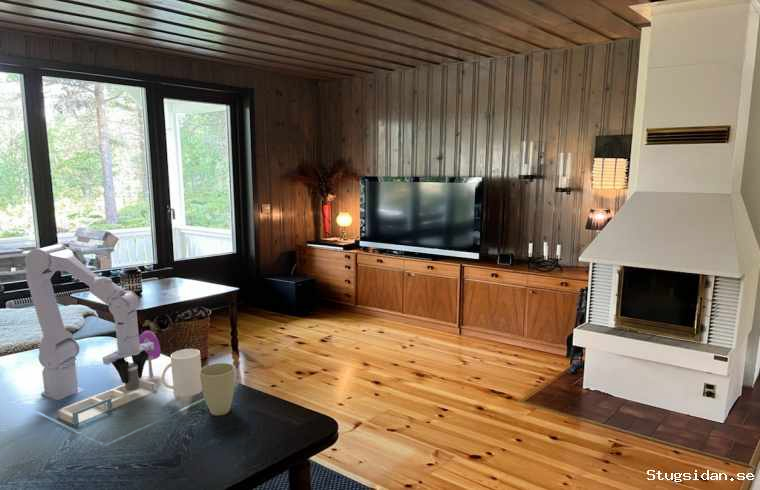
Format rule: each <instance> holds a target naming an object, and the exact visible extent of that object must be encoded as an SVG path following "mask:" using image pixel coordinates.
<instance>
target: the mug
mask: <svg viewBox="0 0 760 490" xmlns="http://www.w3.org/2000/svg"><path fill="white" fill-rule="evenodd" d="M201 359H202V358H201V351H200V350H199V349H196V348H184V349H180V350H176V351H174V352H172V353H171V354H170V362H169V363H168V364H167V365H166V366H165V367H164V369H163V372H162V375H161V380H162V383H163V385H164V386H165V387H166V388H168V389H170V390H172V391H173V395H174V396H175V397H178V398H179V397H180V398H187V397H192V396H196V395H198V394H200V393H201V392H202V393H203V391H202V385H201V379H200V370H201V369H202V360H201ZM169 368H171V373H172V374H171V376H172V385H169V384H167V382H166V381H165V374H166V372H167V370H168V369H169Z"/></svg>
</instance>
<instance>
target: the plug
mask: <svg viewBox="0 0 760 490" xmlns="http://www.w3.org/2000/svg"><path fill="white" fill-rule="evenodd" d="M124 384H125V383H124ZM125 386H126V390H128V391H132V390H136V389H138V388H139V376H138V364H137V363H133V362H129V365H128V383H127V384H125Z"/></svg>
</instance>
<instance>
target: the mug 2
mask: <svg viewBox="0 0 760 490" xmlns="http://www.w3.org/2000/svg"><path fill="white" fill-rule="evenodd" d="M235 371H236V369H235V366H234V364H232V363H228V362H218V363H217V362H215V363H212V364H207V365H206V366H203V367H201V370H200V379H201V385H202V395H203V398H204V401H205V403H206V405H207V407H208V409H209V413H210V414H211V415H213V416H224V415H226V414H228V413H229V412H230V410H231V406H232V402H233V397H234V394H235V393H234V392H235V377H236V376H235V375H236V374H235Z"/></svg>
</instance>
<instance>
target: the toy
mask: <svg viewBox="0 0 760 490" xmlns="http://www.w3.org/2000/svg"><path fill="white" fill-rule="evenodd" d="M148 342H152V343H154V349H153V350H147V351H145V352H146V353H148V358H147V360H146V362H148V376H153V375H154V372H153V364H152V361H153V360H156V359H158V358H159V357H160V356H161V346H160V341H159V339H158V337H157V335H156V334H155V333H154V332H153V331H151V330H145V331H143V332H142V333H141V334H139V344H143V343H148Z"/></svg>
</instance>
